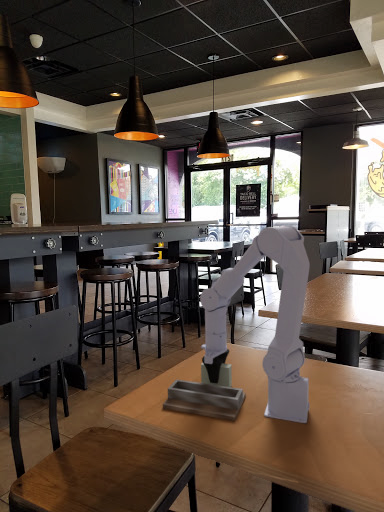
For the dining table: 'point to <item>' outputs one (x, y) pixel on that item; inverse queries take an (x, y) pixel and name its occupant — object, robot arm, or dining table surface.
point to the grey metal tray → (204, 399)
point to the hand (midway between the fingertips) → (216, 378)
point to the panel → (224, 375)
